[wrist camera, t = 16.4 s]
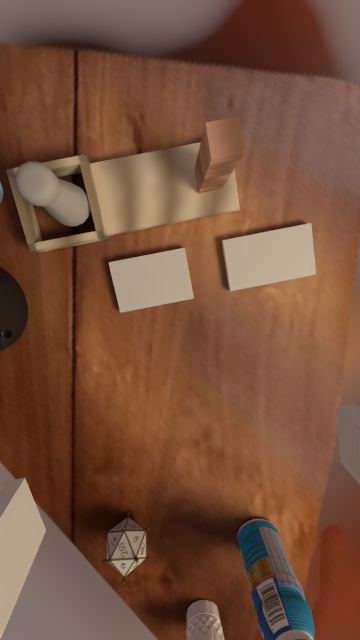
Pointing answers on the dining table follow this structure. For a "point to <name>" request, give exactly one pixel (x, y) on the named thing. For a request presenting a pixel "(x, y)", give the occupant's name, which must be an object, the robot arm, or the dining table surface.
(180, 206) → the wooden tray with post
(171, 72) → the dining table surface
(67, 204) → the salt shaker
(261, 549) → the beverage bottle
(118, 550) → the game die
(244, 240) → the broken strip
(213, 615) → the white cup
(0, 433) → the dining table surface
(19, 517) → the robot arm
